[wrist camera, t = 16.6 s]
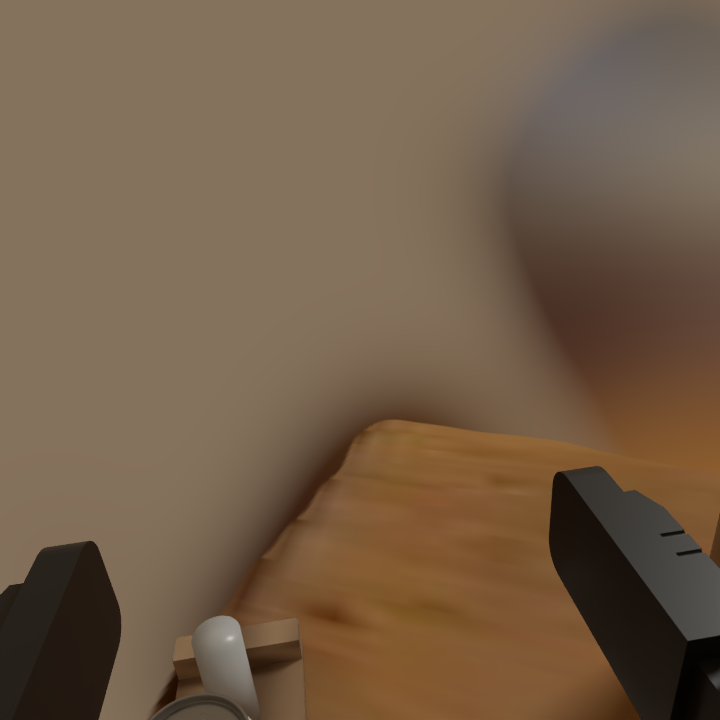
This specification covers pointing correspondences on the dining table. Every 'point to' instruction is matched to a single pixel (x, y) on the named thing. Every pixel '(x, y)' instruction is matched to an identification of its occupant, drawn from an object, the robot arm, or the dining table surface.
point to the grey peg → (225, 662)
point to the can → (202, 708)
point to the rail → (259, 668)
